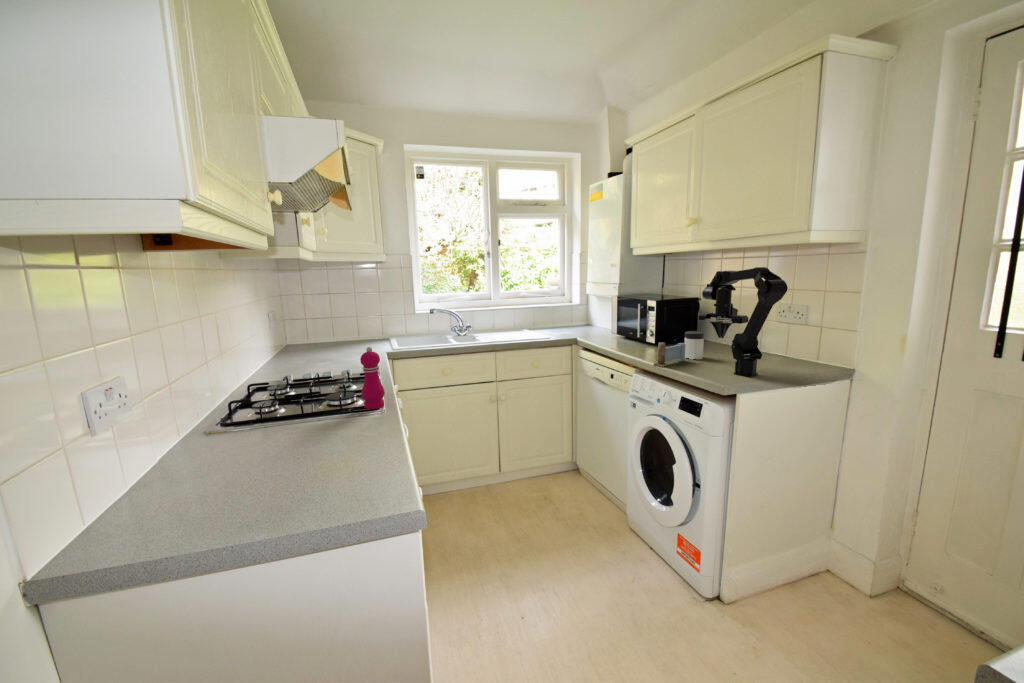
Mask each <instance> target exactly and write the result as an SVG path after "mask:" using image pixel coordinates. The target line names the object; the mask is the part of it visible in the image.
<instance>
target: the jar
mask: <svg viewBox="0 0 1024 683" xmlns="http://www.w3.org/2000/svg"><path fill="white" fill-rule="evenodd" d="M704 338H705V332H704V331H700V330H698V331H697V330H688V331H685V332H684V343H685V359H686V358H689V359H688V360H693V359H696V360H703V359H704V343H705V342H704V340H705V339H704Z"/></svg>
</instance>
